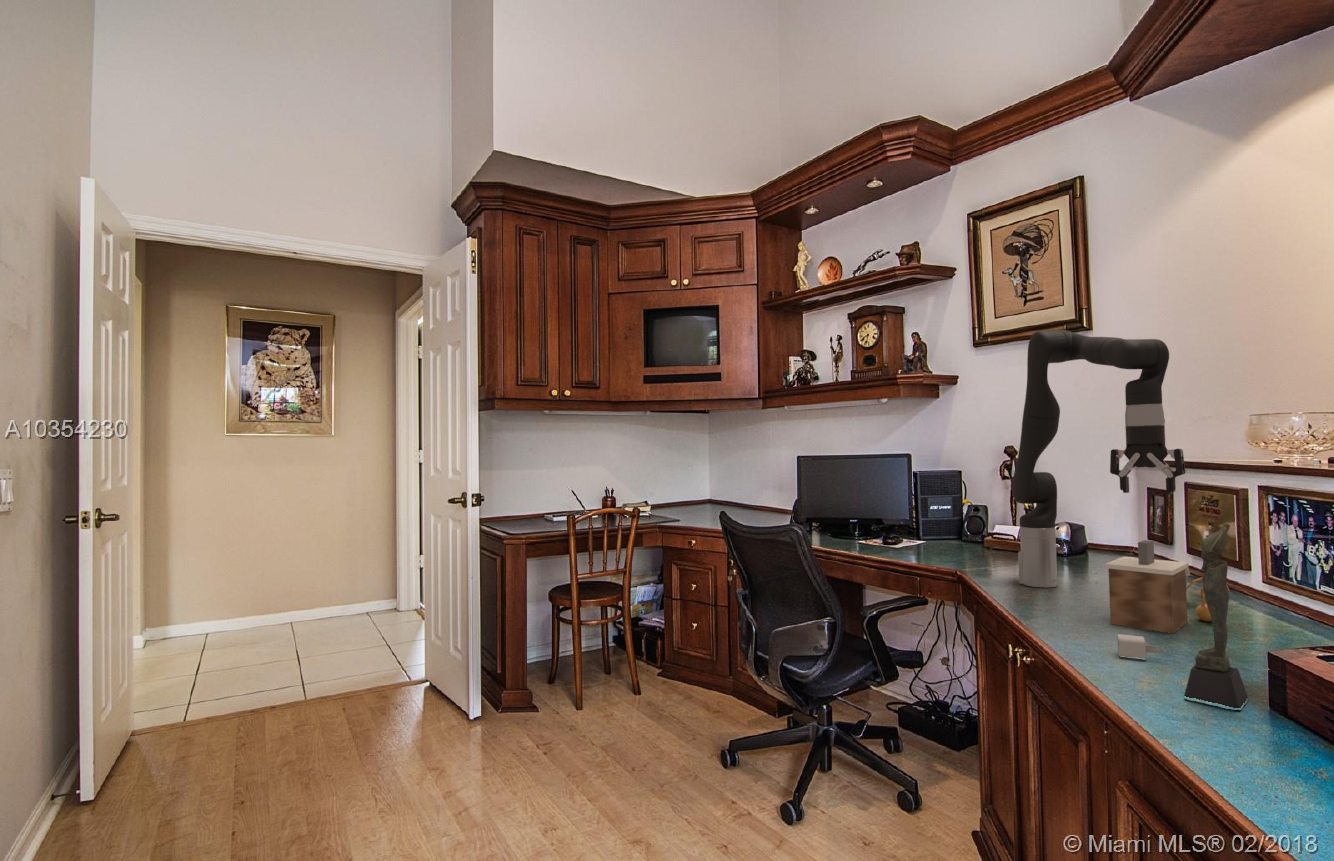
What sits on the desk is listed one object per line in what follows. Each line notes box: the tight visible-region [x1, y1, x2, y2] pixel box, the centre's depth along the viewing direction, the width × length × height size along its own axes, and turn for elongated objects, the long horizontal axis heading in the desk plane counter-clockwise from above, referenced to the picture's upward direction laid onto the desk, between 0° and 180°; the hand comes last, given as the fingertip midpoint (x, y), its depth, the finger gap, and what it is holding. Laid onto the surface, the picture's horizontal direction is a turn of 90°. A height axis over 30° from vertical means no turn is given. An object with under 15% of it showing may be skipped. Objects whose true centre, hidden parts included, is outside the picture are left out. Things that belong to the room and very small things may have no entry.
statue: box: [1183, 520, 1249, 708], centre depth 113 cm, size 7×8×30 cm
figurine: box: [1186, 576, 1231, 622], centre depth 158 cm, size 8×6×12 cm
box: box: [1108, 568, 1189, 634], centre depth 158 cm, size 12×12×13 cm
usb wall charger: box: [1116, 633, 1162, 659], centre depth 135 cm, size 4×7×4 cm, turn 60°
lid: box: [1104, 539, 1190, 575], centre depth 158 cm, size 13×13×7 cm
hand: (1147, 493), depth 159 cm, fingers open, 8 cm apart
